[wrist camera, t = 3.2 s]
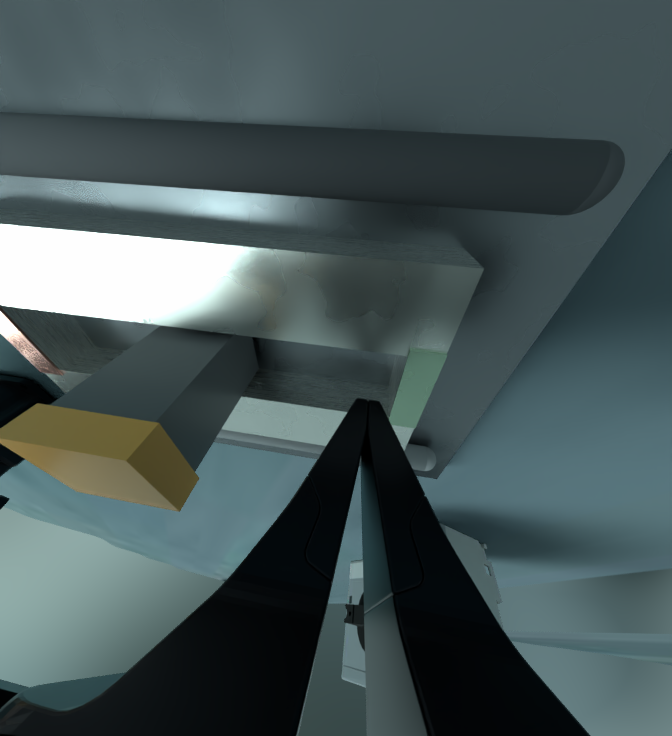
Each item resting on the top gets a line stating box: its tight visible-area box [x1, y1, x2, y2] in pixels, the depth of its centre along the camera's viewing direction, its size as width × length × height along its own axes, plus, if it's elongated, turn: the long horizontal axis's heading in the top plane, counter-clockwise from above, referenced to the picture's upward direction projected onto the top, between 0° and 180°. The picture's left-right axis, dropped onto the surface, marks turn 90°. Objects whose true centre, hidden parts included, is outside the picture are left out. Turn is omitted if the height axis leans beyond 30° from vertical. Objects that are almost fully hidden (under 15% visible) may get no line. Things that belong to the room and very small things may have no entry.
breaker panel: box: [0, 0, 672, 479], centre depth 11 cm, size 26×20×3 cm
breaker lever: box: [0, 325, 259, 512], centre depth 9 cm, size 3×3×6 cm
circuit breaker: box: [342, 523, 504, 687], centre depth 21 cm, size 8×14×15 cm, turn 57°
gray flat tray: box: [0, 112, 625, 471], centre depth 11 cm, size 23×14×1 cm, turn 88°
